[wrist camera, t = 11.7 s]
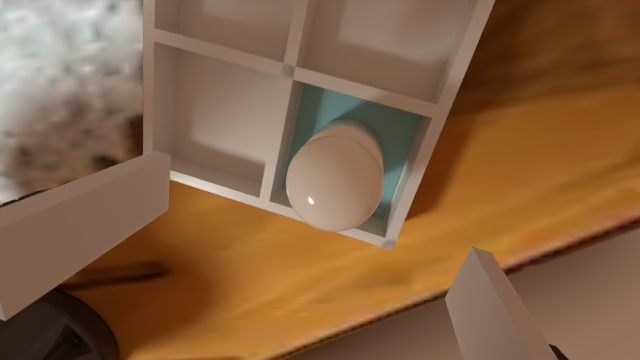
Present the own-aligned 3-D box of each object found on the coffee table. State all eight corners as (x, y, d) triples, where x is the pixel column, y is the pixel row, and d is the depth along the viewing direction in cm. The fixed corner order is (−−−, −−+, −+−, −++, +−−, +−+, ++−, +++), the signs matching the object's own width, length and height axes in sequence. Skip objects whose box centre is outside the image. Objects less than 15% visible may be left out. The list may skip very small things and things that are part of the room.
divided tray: (390, 226, 25) (392, 250, 22) (171, 158, 27) (142, 170, 24) (507, -67, 17) (535, -98, 14) (184, -136, 19) (143, -178, 16)
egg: (370, 197, 23) (363, 265, 15) (304, 176, 24) (263, 232, 16) (393, 130, 21) (400, 168, 13) (320, 109, 22) (283, 134, 14)
